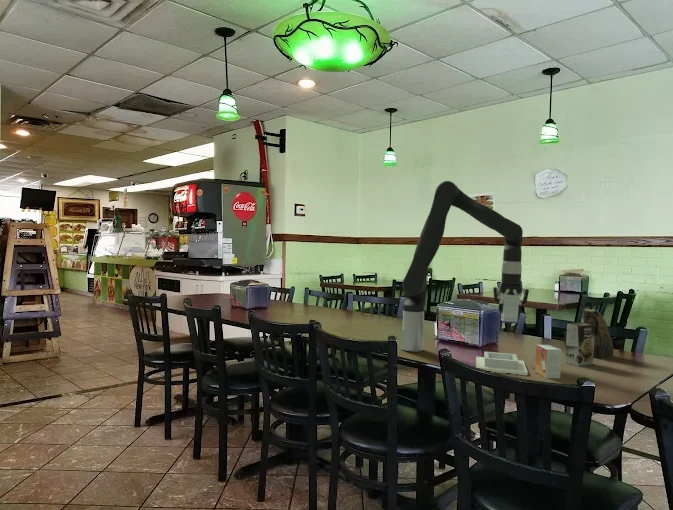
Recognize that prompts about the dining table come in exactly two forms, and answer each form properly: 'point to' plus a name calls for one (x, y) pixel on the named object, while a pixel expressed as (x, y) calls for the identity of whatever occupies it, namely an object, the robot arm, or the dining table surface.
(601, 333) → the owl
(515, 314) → the supplement box
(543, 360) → the small box
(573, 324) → the coffee box
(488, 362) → the collar socket
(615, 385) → the dining table surface
